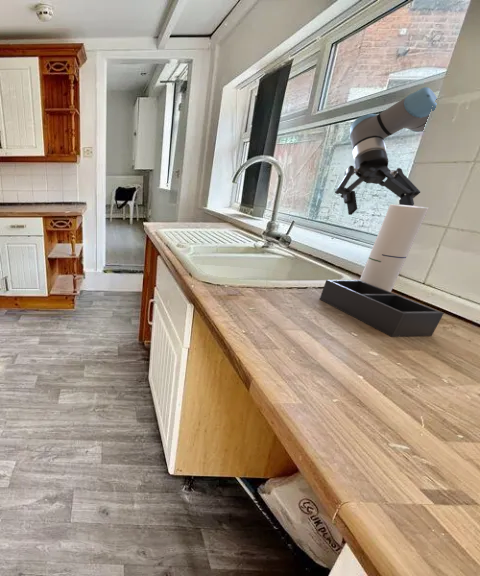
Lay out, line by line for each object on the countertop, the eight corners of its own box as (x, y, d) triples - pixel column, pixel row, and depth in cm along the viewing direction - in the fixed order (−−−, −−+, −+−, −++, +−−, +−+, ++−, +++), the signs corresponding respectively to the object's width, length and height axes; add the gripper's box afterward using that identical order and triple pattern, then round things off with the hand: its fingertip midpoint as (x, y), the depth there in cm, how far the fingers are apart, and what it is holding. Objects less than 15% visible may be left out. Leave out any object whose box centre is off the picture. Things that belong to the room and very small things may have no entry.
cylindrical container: (384, 304, 81) (427, 208, 72) (351, 295, 86) (388, 204, 77) (388, 298, 86) (429, 207, 76) (356, 290, 91) (392, 203, 81)
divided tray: (352, 299, 84) (359, 280, 82) (431, 336, 66) (444, 312, 64) (319, 299, 83) (326, 279, 80) (391, 336, 65) (402, 313, 63)
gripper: (407, 169, 95) (420, 225, 87) (318, 164, 100) (323, 218, 92) (428, 149, 88) (444, 209, 81) (331, 146, 93) (338, 201, 85)
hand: (380, 214), depth 86 cm, fingers open, 13 cm apart
